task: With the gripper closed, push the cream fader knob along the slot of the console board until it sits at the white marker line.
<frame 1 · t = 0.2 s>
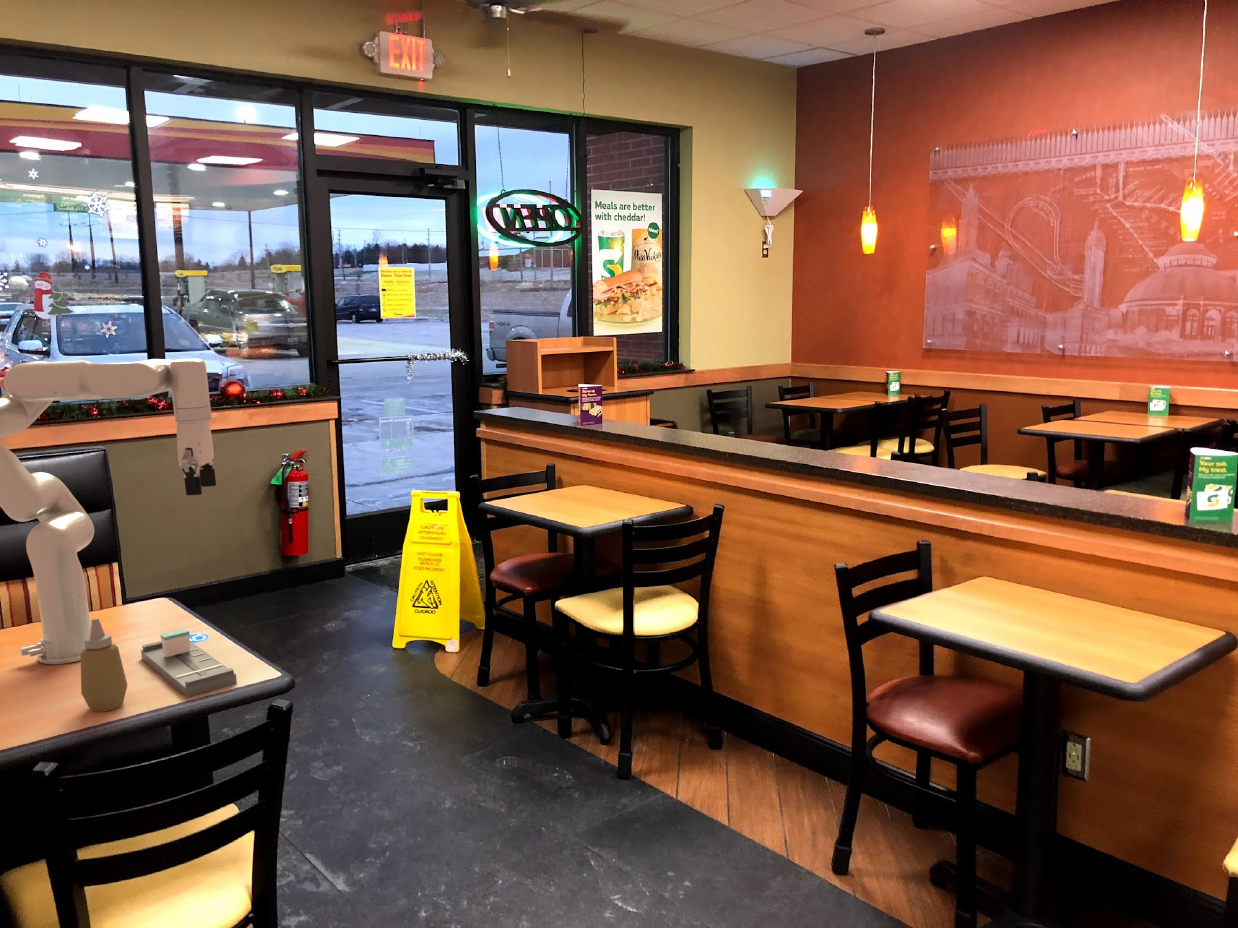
hand: (201, 490, 220), 36 cm above the table, tool pointing down, fingers open, 9 cm apart
squeeze bottle: (107, 707, 193), on the table
fader knob: (176, 642, 214), point 5 cm above the table, slide at 0.0 cm
console board: (187, 670, 210), on the table
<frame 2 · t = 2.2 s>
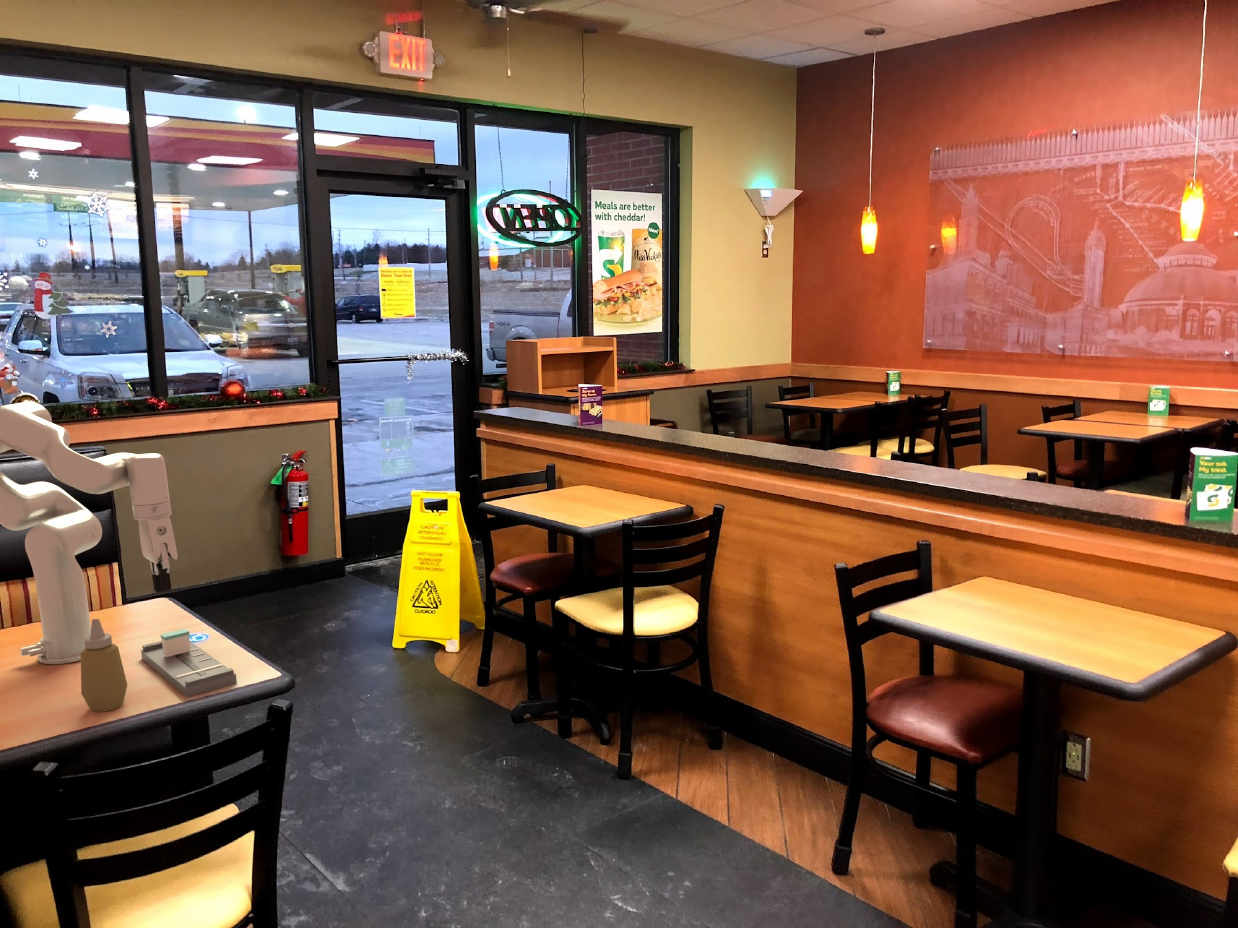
hand: (162, 590, 217), 15 cm above the table, tool pointing down, fingers closed
nothing on the table moved.
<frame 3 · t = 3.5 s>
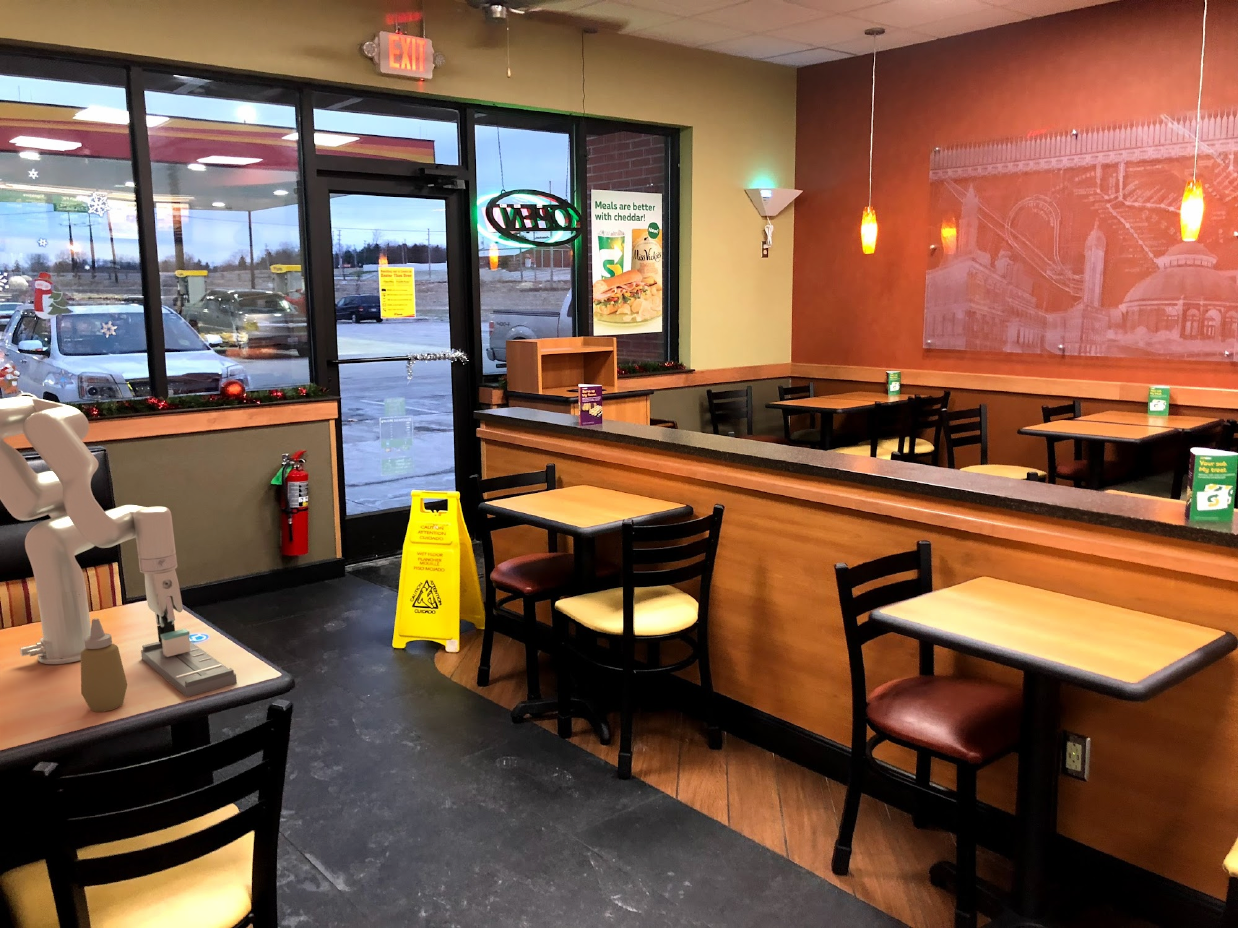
hand: (167, 641, 219), 3 cm above the table, tool pointing down, fingers closed
nothing on the table moved.
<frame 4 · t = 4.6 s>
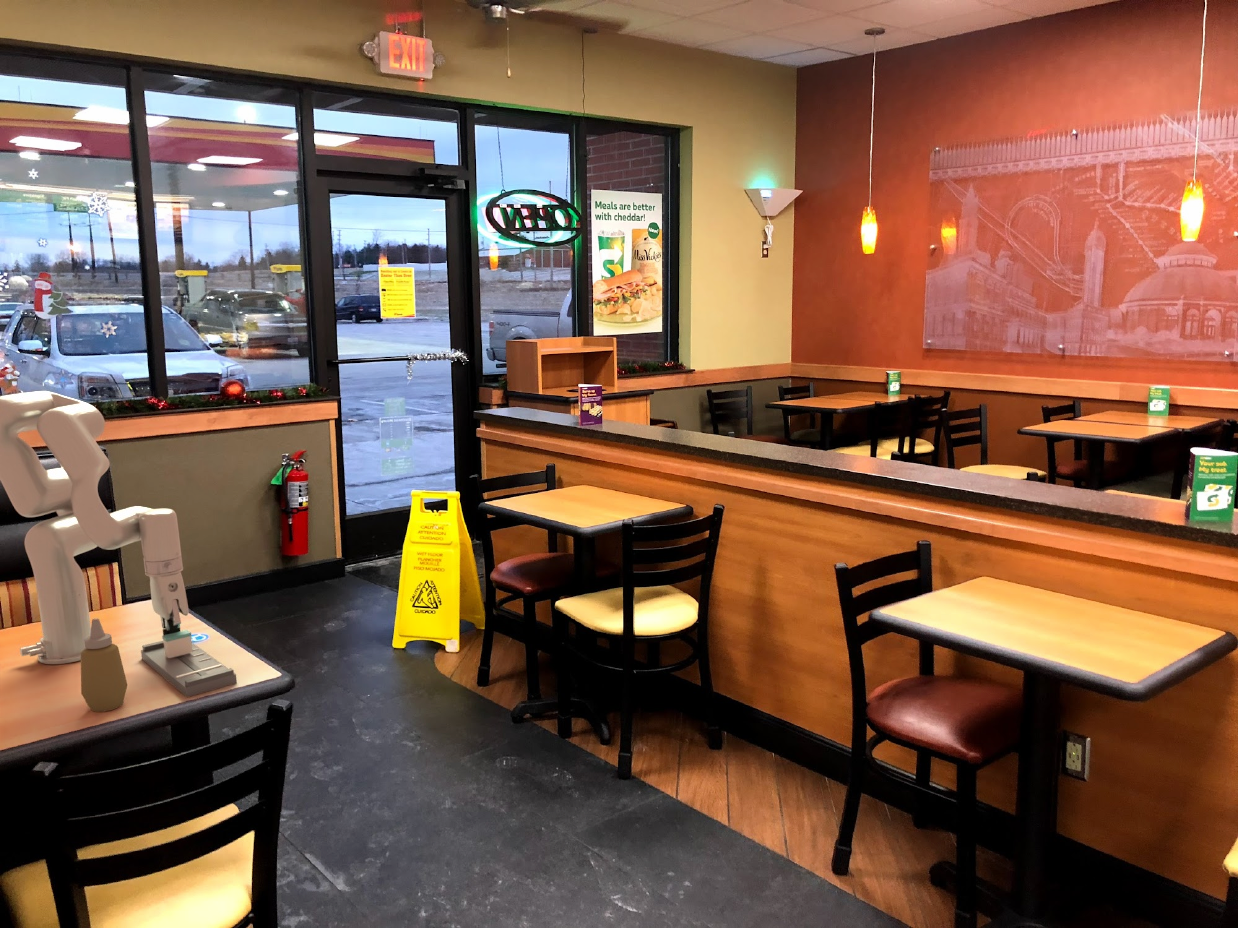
hand: (173, 645, 216), 3 cm above the table, tool pointing down, fingers closed
fader knob: (177, 643, 213), point 5 cm above the table, slide at 1.2 cm, touching gripper
everything else where it was.
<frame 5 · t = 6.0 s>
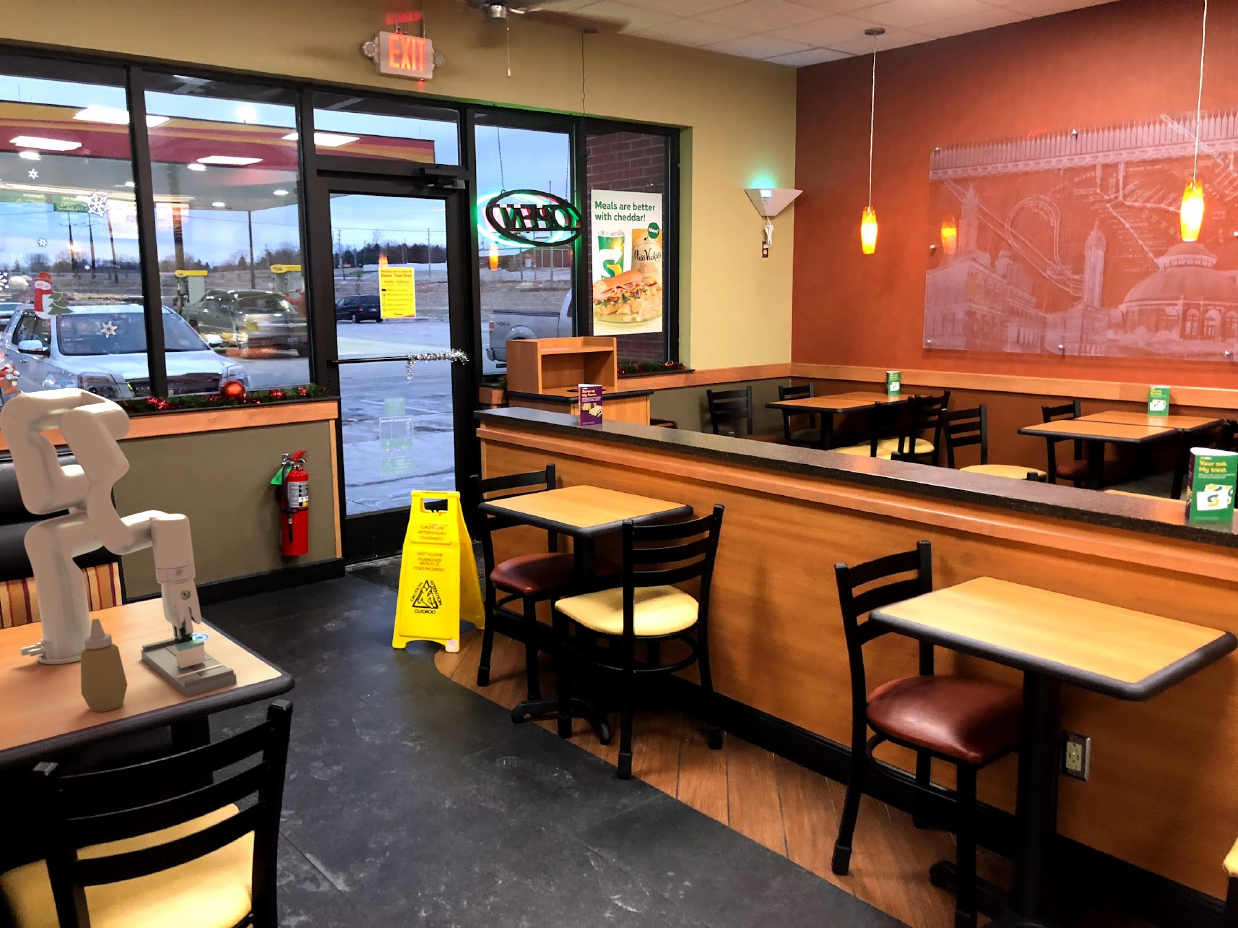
hand: (185, 654, 210), 3 cm above the table, tool pointing down, fingers closed
fader knob: (190, 653, 207), point 5 cm above the table, slide at 9.2 cm, touching gripper
everything else where it was.
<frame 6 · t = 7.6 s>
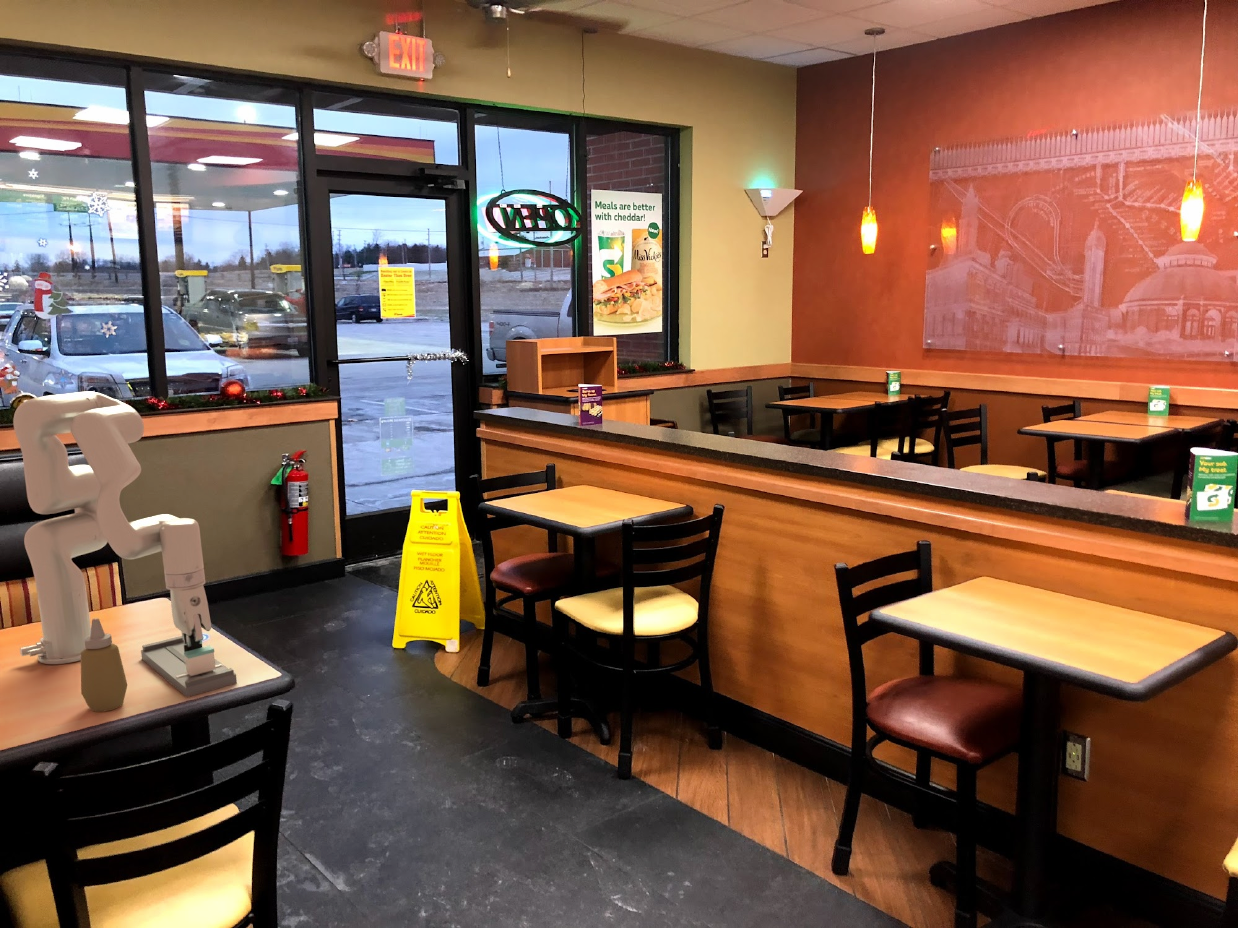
hand: (194, 661, 206), 3 cm above the table, tool pointing down, fingers closed
fader knob: (200, 660, 203), point 5 cm above the table, slide at 15.3 cm, touching gripper
everything else where it was.
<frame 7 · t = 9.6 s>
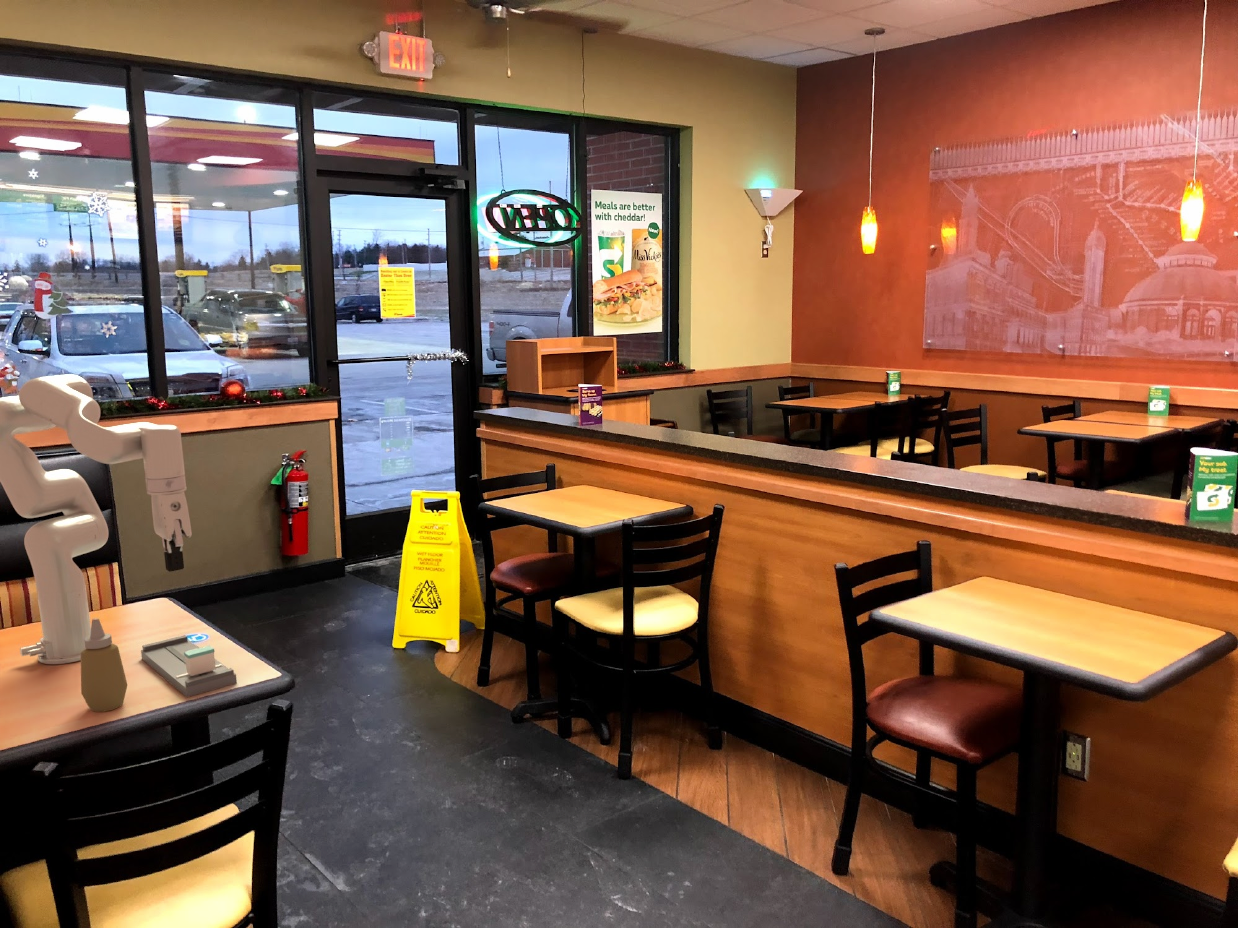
hand: (175, 569, 207), 23 cm above the table, tool pointing down, fingers closed
fader knob: (200, 660, 203), point 5 cm above the table, slide at 15.4 cm
everything else where it was.
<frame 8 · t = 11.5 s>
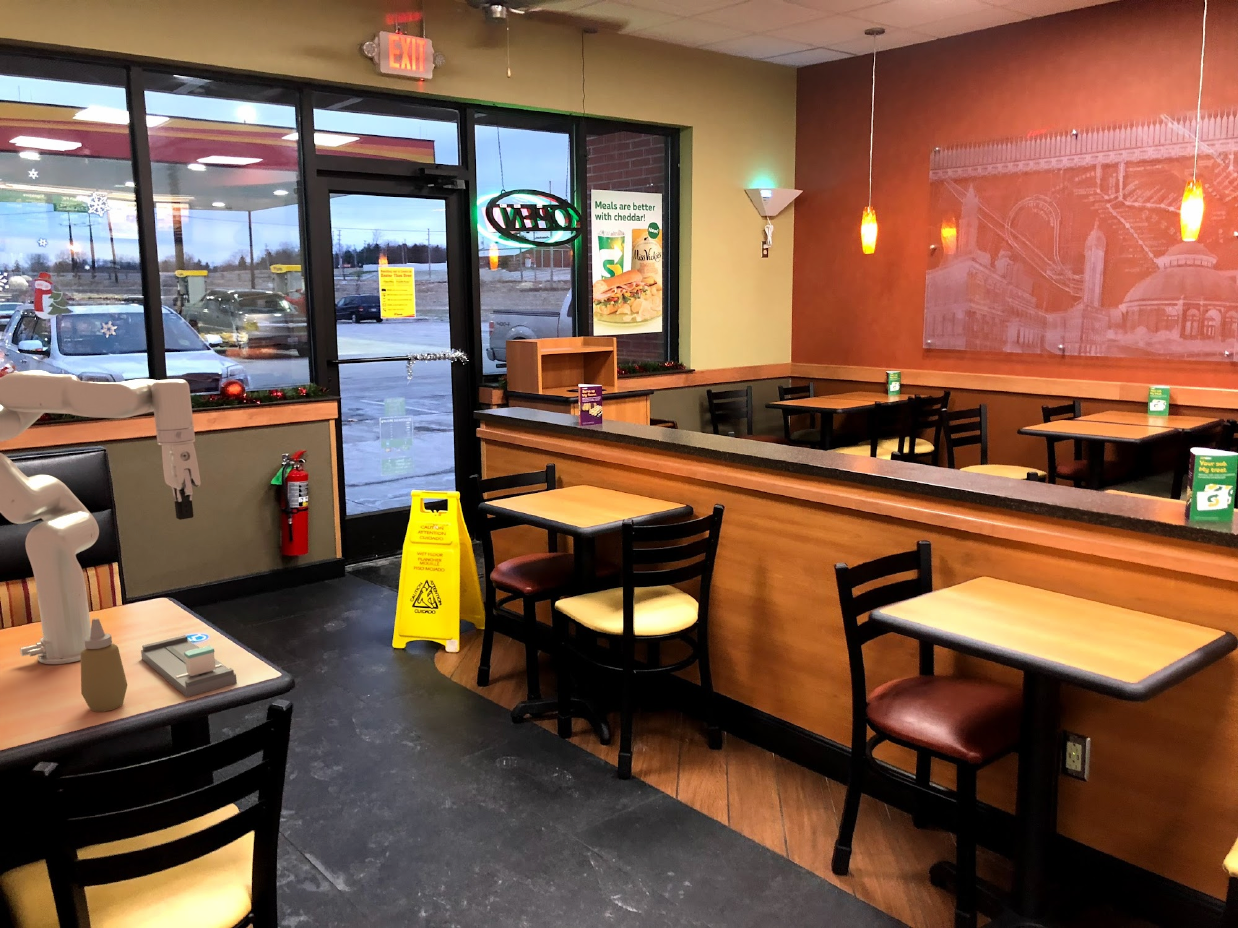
hand: (185, 517, 216), 31 cm above the table, tool pointing down, fingers closed
nothing on the table moved.
at the end: fader knob slide at 15.4 cm; fader knob touching nothing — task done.
